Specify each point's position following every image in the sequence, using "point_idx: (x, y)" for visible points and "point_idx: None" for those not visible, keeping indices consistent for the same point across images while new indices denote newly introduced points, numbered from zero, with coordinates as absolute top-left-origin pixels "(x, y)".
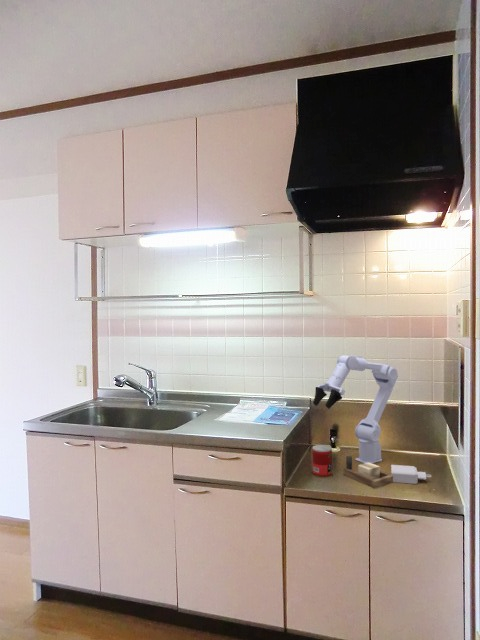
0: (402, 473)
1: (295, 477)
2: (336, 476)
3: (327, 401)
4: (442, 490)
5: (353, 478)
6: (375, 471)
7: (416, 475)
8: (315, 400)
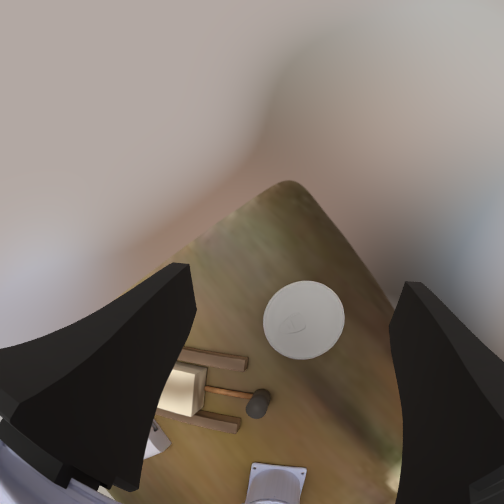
0: None
1: (330, 234)
2: (256, 332)
3: (151, 285)
4: None
5: (210, 351)
6: None
7: None
8: (416, 310)
